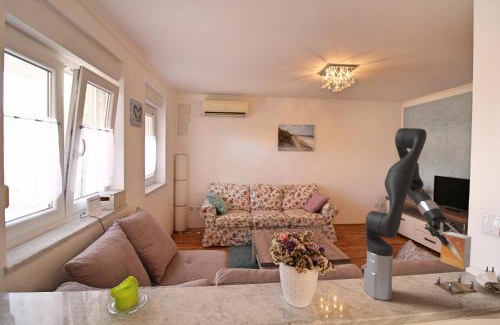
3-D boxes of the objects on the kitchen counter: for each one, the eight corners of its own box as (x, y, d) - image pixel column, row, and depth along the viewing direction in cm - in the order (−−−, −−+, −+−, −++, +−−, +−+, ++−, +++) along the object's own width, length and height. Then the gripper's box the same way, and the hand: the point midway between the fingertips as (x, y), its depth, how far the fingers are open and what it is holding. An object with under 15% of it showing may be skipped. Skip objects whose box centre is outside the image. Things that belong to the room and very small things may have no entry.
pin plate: (451, 294, 94) (451, 284, 94) (434, 284, 101) (435, 276, 101) (475, 291, 96) (476, 283, 96) (457, 282, 103) (458, 274, 103)
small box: (440, 261, 101) (441, 232, 101) (446, 259, 104) (448, 230, 104) (463, 270, 94) (465, 238, 93) (470, 266, 97) (471, 236, 96)
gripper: (423, 207, 106) (447, 241, 95) (449, 207, 108) (476, 240, 97) (412, 216, 111) (434, 248, 100) (438, 215, 113) (462, 247, 102)
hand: (455, 244), depth 99 cm, fingers closed on small box, 7 cm apart
